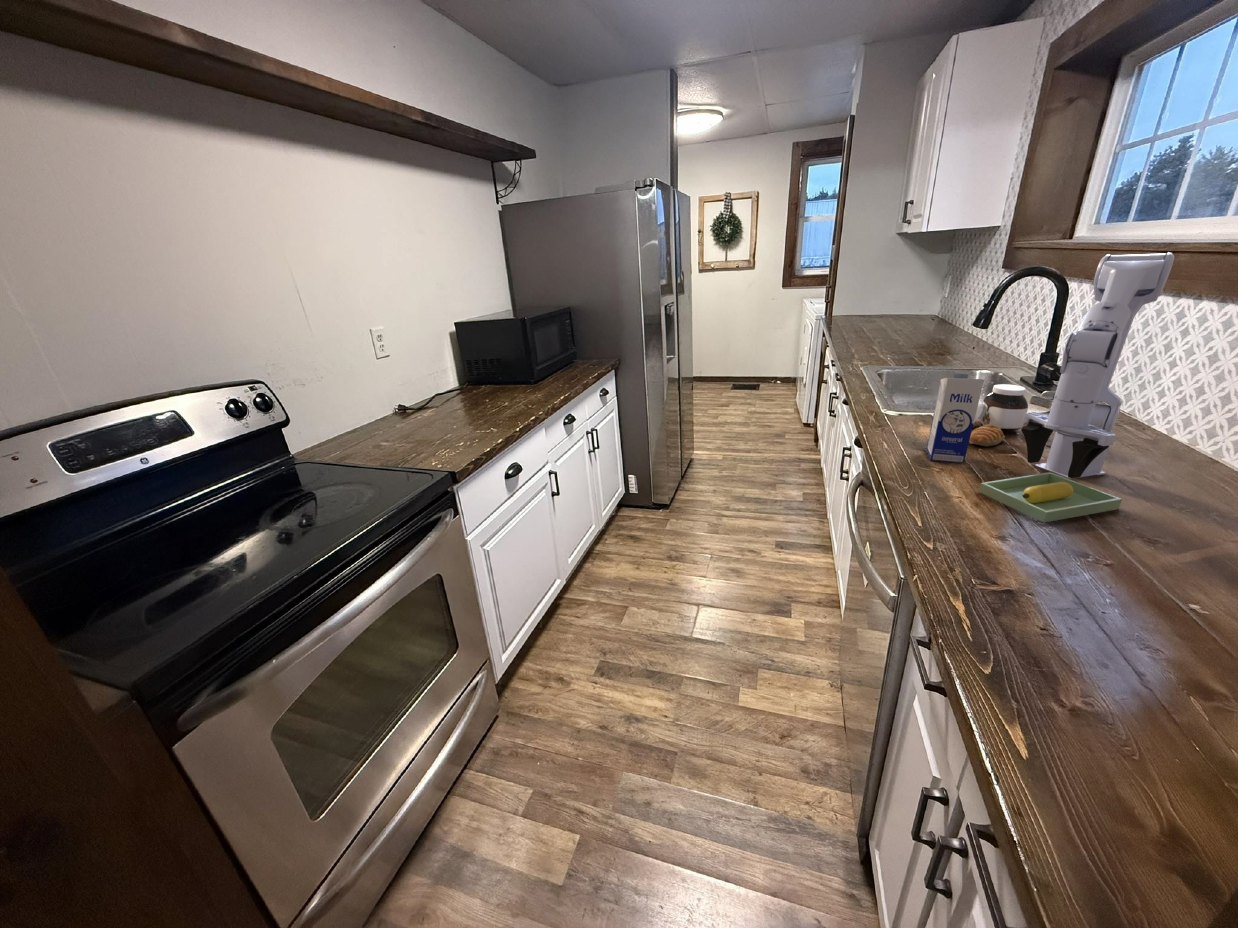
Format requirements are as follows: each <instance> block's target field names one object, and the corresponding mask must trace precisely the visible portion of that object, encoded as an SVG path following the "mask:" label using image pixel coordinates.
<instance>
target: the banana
mask: <svg viewBox="0 0 1238 928" xmlns="http://www.w3.org/2000/svg"><path fill="white" fill-rule="evenodd" d="M1072 493H1073V487H1072V486H1071V485H1070V484H1068V483H1066V482H1057V483H1051V484H1045V485H1039V486H1033V487H1028V488H1027V489H1025V490H1024V492H1023V495H1022V497H1023V498H1024V499H1025V500H1026V501H1028V502H1030V503H1040V502H1046V501H1051V500H1057V499H1063V498H1068V497H1070V496H1071V495H1072Z"/></svg>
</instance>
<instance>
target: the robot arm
mask: <svg viewBox="0 0 1238 928" xmlns="http://www.w3.org/2000/svg"><path fill="white" fill-rule="evenodd" d="M1174 261H1175V255H1174V253H1173V252H1167V253H1145V254H1144V253H1143V254H1110V253H1108V254H1105V256H1103V257H1102V258H1101V259H1100V261H1099V263H1098V265H1097V268H1096V271H1095V274H1094V278H1093V296H1094V300H1095V301H1097V303H1095V304H1093V305H1092V306H1091V307H1089V309H1088V310H1087V311H1086V314H1085V316H1084V318H1083V319H1082V322H1081V323H1080V325H1079V327H1078V329H1077V330H1076V332H1071V333H1070V334H1069V335H1068V337H1067V339H1066V342H1065V346H1064V348H1063V352H1062V361H1061V366H1060V370H1059V373H1061V374H1060V376H1059V379H1058V383H1057V387H1056V389H1055V394H1054V397H1053V400H1052V403H1051V407H1050V410H1049V413H1048V414H1045V413H1041V412H1036V411H1027V413H1025V415H1024V418H1023V422H1024V424H1026V425H1023V426H1022V428H1021V429H1020V430H1021V433H1022V434H1023V438H1024V441H1025V444H1026V453H1027V454H1026V455H1027V457H1026V458H1027V463H1029V464H1034V463H1036V464H1035V467H1039V468H1041V469H1044V470H1047V471H1049V472H1051V473H1054V474H1057V475H1059V476H1062V477H1065V478H1067V479H1078V478H1084V477H1090V476H1103V475H1106V472H1105V471H1103V470H1102V469H1103V466H1104V463H1105V461H1106V458H1107V455H1108V452H1109V449H1110V446H1113V445H1114V442H1115V439H1116V437H1117V433H1116V434H1115V433H1112V432H1113V430H1114V428H1115V426H1116V423H1117V420H1118V418H1119V414H1120V410H1121V406H1122V403H1123V402H1122V399H1121V397H1120V396H1119V395H1118V394H1116V393H1115V392H1114V391H1113V390H1112V389H1110V388H1109V387H1110V384H1111V382H1112V379H1113V376H1114V373H1115V371H1116V368H1117V365H1118V362H1119V360H1120V357H1121V354H1122V352H1123V349H1124V346H1125V344H1126V342H1127V338H1128V335H1129V333H1130V330H1131V327H1132V324H1133V322H1134V319H1135V317H1136V316H1137V314H1138V313H1139V312H1140V310H1141V308H1142V307H1143V306H1144V305H1148V304H1150V303H1154V302H1157V301H1158V299H1159V297H1160V296H1162V293H1163V290H1164V288H1165V285H1166V283H1167V281H1168V278H1169V275H1170V273H1171V270H1172V268H1173V265H1174ZM1097 402H1098V403H1097ZM1100 403H1105V404H1100ZM1053 432H1055V433H1054V436H1053V439H1052V443H1051V446H1050V449H1049V453H1048V456H1047V459H1046V462H1042V463H1040V461H1041V459H1042V456H1043V453H1044V451H1045V448H1046V444H1048V441H1049V438H1050V437H1051V435H1052V434H1053Z"/></svg>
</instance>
